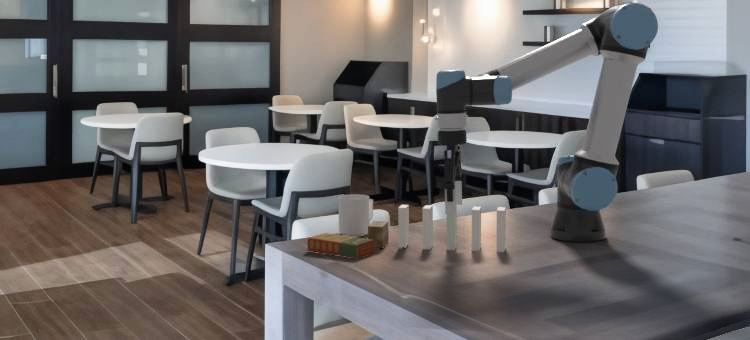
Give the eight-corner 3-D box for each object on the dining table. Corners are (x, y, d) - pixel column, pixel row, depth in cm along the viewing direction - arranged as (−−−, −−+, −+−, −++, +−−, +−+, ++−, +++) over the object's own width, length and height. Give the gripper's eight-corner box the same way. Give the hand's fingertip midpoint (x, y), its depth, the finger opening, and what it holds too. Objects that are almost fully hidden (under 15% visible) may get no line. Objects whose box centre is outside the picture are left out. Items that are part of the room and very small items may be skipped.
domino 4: (480, 247, 232) (481, 206, 230) (479, 251, 227) (479, 209, 225) (473, 246, 232) (473, 206, 230) (471, 251, 227) (471, 209, 226)
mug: (354, 239, 243) (354, 200, 242) (332, 235, 249) (331, 197, 247) (383, 232, 252) (382, 195, 250) (361, 229, 258) (360, 192, 256)
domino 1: (409, 244, 236) (408, 204, 234) (405, 248, 231) (405, 208, 229) (401, 244, 236) (401, 204, 235) (398, 248, 231) (398, 207, 230)
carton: (326, 247, 235) (325, 232, 234) (375, 254, 226) (375, 238, 226) (307, 253, 228) (306, 237, 227) (357, 260, 219) (357, 244, 219)
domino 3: (456, 246, 233) (456, 206, 231) (454, 250, 228) (454, 209, 227) (449, 246, 233) (449, 205, 232) (446, 250, 228) (446, 209, 227)
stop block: (388, 242, 238) (388, 221, 238) (382, 248, 231) (382, 226, 230) (374, 242, 239) (374, 220, 238) (368, 248, 231) (367, 226, 231)
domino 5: (505, 248, 230) (505, 207, 229) (504, 252, 225) (504, 210, 224) (497, 247, 231) (498, 207, 229) (496, 251, 226) (496, 210, 224)
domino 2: (432, 245, 234) (432, 205, 233) (430, 249, 229) (429, 208, 228) (425, 245, 235) (425, 205, 233) (422, 249, 230) (422, 208, 228)
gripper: (443, 125, 239) (446, 201, 242) (430, 134, 215) (433, 217, 218) (471, 124, 238) (472, 200, 241) (460, 133, 214) (462, 217, 216)
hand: (454, 209), depth 229 cm, fingers open, 13 cm apart
